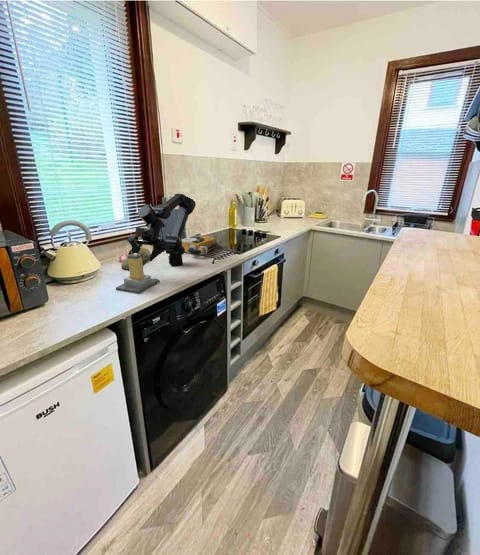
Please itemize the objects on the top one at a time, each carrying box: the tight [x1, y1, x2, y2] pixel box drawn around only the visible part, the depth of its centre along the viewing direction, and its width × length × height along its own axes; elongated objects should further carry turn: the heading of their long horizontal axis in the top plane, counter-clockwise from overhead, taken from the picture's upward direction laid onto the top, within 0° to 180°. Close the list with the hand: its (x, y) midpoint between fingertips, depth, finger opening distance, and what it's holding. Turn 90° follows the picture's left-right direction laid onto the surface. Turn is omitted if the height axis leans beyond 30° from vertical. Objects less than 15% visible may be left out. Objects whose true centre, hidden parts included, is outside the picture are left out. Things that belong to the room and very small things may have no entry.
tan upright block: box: [126, 253, 145, 280], centre depth 118 cm, size 4×5×14 cm
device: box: [181, 233, 221, 256], centre depth 171 cm, size 23×8×30 cm
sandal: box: [120, 247, 152, 270], centre depth 151 cm, size 12×30×8 cm, turn 2°
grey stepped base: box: [115, 274, 160, 295], centre depth 120 cm, size 14×12×4 cm
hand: (141, 259), depth 120 cm, fingers open, 9 cm apart
